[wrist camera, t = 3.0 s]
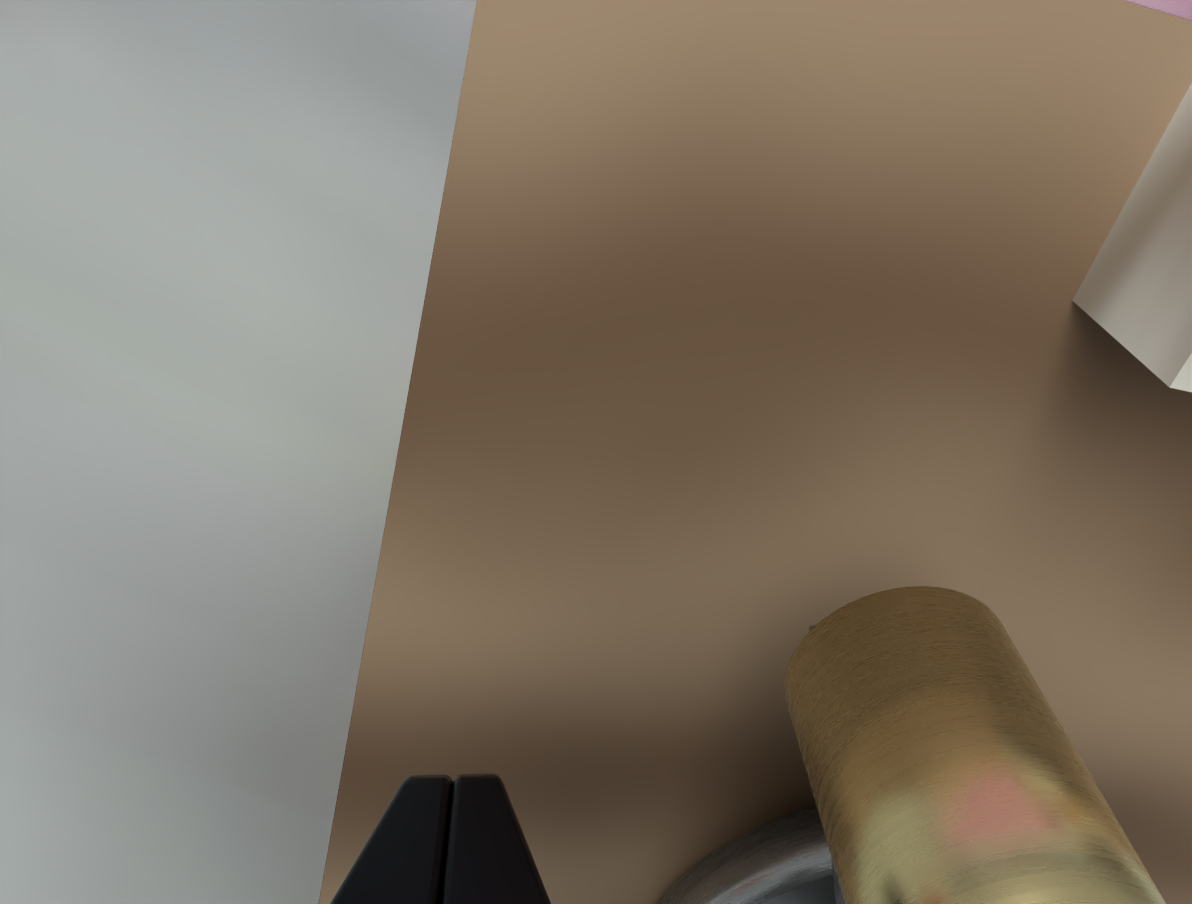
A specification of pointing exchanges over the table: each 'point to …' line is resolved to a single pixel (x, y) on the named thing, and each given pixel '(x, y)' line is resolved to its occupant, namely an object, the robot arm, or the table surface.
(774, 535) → the stand
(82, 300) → the table surface
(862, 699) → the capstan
